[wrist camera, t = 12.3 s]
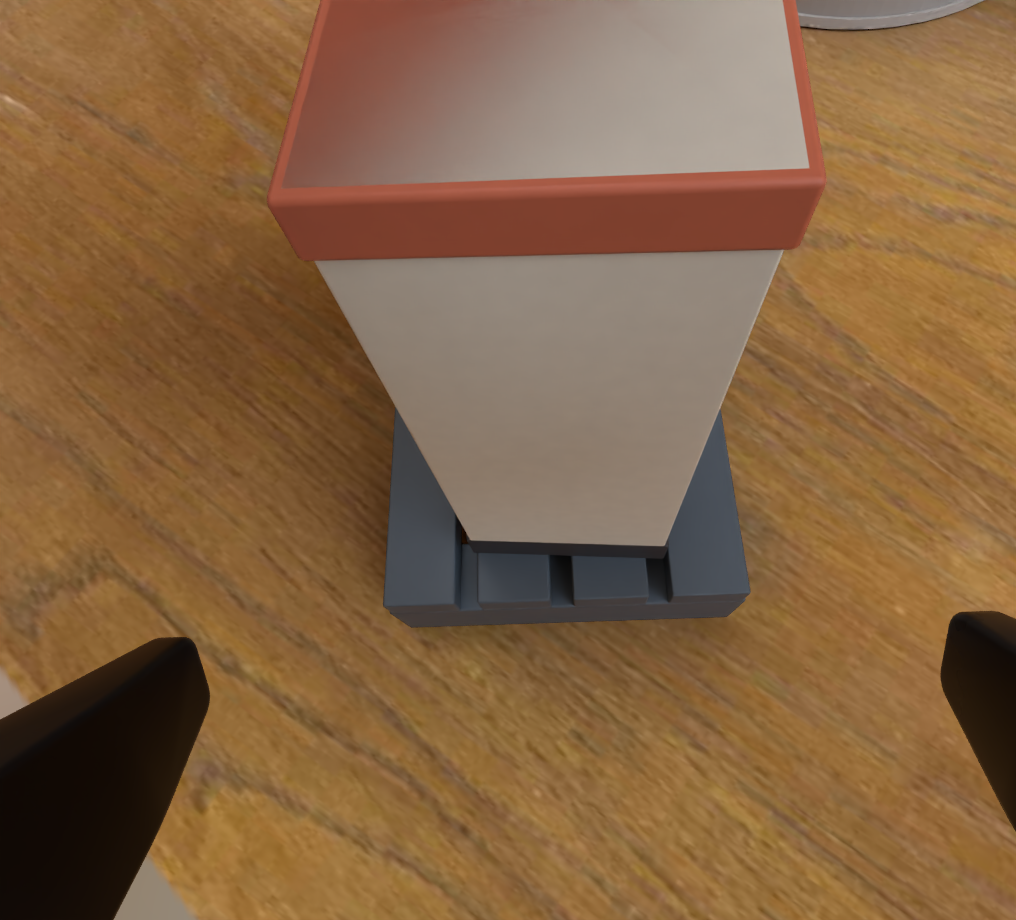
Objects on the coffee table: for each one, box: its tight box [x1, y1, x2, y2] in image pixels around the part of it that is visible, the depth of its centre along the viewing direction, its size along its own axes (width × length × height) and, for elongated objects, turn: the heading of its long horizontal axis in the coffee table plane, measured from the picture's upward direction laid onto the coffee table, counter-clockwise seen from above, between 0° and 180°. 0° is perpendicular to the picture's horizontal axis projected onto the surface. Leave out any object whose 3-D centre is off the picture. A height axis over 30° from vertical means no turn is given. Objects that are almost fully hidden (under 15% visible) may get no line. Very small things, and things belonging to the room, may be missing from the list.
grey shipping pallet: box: [383, 407, 750, 627], centre depth 22 cm, size 16×10×4 cm, turn 1°
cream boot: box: [267, 0, 827, 559], centre depth 15 cm, size 14×5×13 cm, turn 176°
